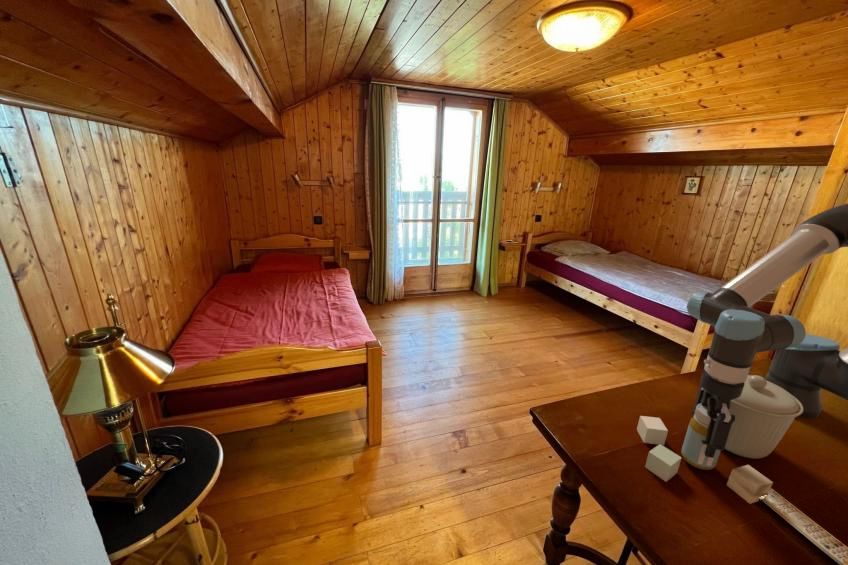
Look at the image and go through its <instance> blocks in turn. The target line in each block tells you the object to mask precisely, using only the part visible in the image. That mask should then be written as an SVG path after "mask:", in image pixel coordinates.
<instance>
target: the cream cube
mask: <svg viewBox="0 0 848 565" xmlns="http://www.w3.org/2000/svg"><path fill="white" fill-rule="evenodd" d="M636 430H637V431H636V432H637V433H638V434H639V436H640V438H641V440H642V442H643V444H650V445H657V446H658V445H659V444H661V445H662V446H665V444H666V443H665V442H666V439H667V435H668V432H669V430H668V429H667V427H666V426H665V424H664V422H663V420H662V419H661V417H654V416H646V415H645V416H644V415H640V416H639V420H638V424H637V427H636Z"/></svg>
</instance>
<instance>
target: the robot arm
mask: <svg viewBox="0 0 848 565" xmlns="http://www.w3.org/2000/svg"><path fill="white" fill-rule="evenodd" d="M841 248H848V203H847V202H846V203H844V204H841V205H837V206H835V207H834V206H833V207H831V208H829V209H826V210H824V211H821V212H820V213H819V212H818V213H817V214H816V215H813V216H811V217H809V218H807V219H806V220H804V221H802V222H801V223H799V225H797V226H796V227H795V228H794V229H793V230H792V233H791V236H789V237H788V238H786V239H785V240H784V241H782V242H781V243H780V244H778V245H777V246H776V247H774V248H773V249H771V250H770V251H769V252H767V253H766V254H764V255H763V256H762V257H761V258H759V259H758V260H757V261H755V262H754V263H753V264H750V265H749V266H748V267H747V268H746V269H744V270H743V271H742V272H740V273H739V274H737V275H736V276H734V277H733V278H731V280H729V281H728V282H727V283H724V284H723V285H722V286H721V287H719V288H718V289H717V290H715V291H713V293H711V292H709V291H704V290H703V291H702V290H701V291H699V292H695V293H694V294H693V295H691V296H690V298H689V299H688V301H687V303H686V304H687V305H686V309H687V313H688V314H689V315H690V316H691V317H693V318H694V319H697V320H698V321H700V322H702V323H704V324H706V325H707V324H708V325H711V326H712V327H714V331H713V336H712V339H711V344H710V347H709V350H708V354H707V358H706V359H704V360H703V363H704V370H702V373H701V376H700V380H699V388H698V392H697V395H696V398H695V401H694V405H693V407H692V411H691V415H692V416H694V414H695V410H696V406H697V405H698V404H700V403H701V404H702V406H706V407H708V408H707V415H708V416H710V417H711V420H710V423H709V425H708V429H707V436H706V441H704V440H702V444H703V446H702V449H701V452H700V456H699V459H698V462H697V463H698V464H703V461H704V458H705V456H706V457H709V458H708V461H707V464H706V466H711V465H712V462H713V459H714V456H715V453H716V450H721V451H723V452H724V450H725V449H724V448H725V445H726V442H727V438H728V435H729V432H730V429H731V425H732V423H733V422H734V421H735V416H734V415H731V414H730V413H729V411H728V410H729V408H730V401H731V400H733V399H736V398H739V397H740V396H741V393H742V391H743V388H744V384H745V383H744V382H745V381H746V379H747V376H748V375H749V374H750V370H751V367H752V363H753V360H754V358H755V355H756V353H762V352H768V351H775V353H774V355H773V359H772V361H771V364H770V367H769V370H768V372H767V374H766V375H765V376H764V377H763V378H764V379H765V380H766V381H769V382H771V383H773V384H776V385H778V386H779V387H781V388H783V389H784V390H786V391H787V392H789V393H790V394H791V395H793V396H794V397H795V398H796V399H798V400H799V402H800V403H801V404H802V406H803V413H802V414H801V415H799V416H797V417H796V418H800V419H816V418H819V417H820V414H821V412H822V410H823V408H822V407H823V406H822V401H821V398H822V397H821V390H825V391H827V392H829V393H832V394H833V395H836V396H837V397H840V398H842V399H844V400H846V401H848V347H847V348H843V349H842V350H840V349H841V346H840V343H838V342H837V341H836V340H833V339H830V338H828V337H822V336H821V335H820V336H819V335H813V334H807V333H806V332H807V331H806V328H805V326H804V324H803V323H802V321H800V319H798V318H796V317H794V316H792V315H789V314H768V313H767V312H763V311H761V310H759V309H755V308H752V306H753V305H755V304H756V303H757V302H759V301H760V300H761V299H763V298H764V297H766V296H767V295H768V294H770V293H771V292H773V291H775V289H777V288H778V287H779V286H781V285H782V284H783V283H785V282H787V281H788V280H789V279H791V278H792V277H793V276H795V275H797V273H799V272H801V270H803V269H805V268H806V267H808V266H809V265H810V264H812V263H813V262H814V261H815V260H817V259H819V258H820V257H821V256H822V255H829V254H833V253H835V252H836V251H838V250H839V249H841ZM712 412H713V413H712ZM716 413H718V414H716ZM714 419H716V420H715V421H714Z"/></svg>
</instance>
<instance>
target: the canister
mask: <svg viewBox="0 0 848 565" xmlns="http://www.w3.org/2000/svg"><path fill="white" fill-rule="evenodd" d="M744 383H745V384H744V388H743V391H742V393H741V396H740V397H739V398H736V399H733V400H731V401H730V408H729V410H728V411H729V413H730V414H731V415H734V416H735V421H734V422H733V423H732V425H731V429H730V432H729V435H728V438H727V442H726V445H725V448H724V450H726V451H727V452H731V453H732V454H734V455H736V456H740V457H744V458H748V459H754V460H755V459H762V458H766V457H768V456H769V455H770V454H772V452H773V451H774V450H775V448H776V447H777V445H779V443H780V441H781V440H782V439H783V437H784V436H785V434H786V433H787V431H788V429H789V428H790V426H791V425H792V423H793V421H794V420H795V419H796V418H798V417H797V416H799V415H801V414H802V413H803V406H802V404H801V403H800V402H799V400H798V399H796V398H795V397H794V396H793V395H791V394H790V393H789V392H787V391H786V390H784V389H783V388H781V387H779V386H778V385H776V384H773V383H771V382H769V381H766V380H765V379H764V377H763V376H760V375H754V374H753V375H751V374H750V375H749V374H748V376H747V379H746V381H745V382H744Z"/></svg>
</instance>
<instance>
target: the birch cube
mask: <svg viewBox="0 0 848 565" xmlns="http://www.w3.org/2000/svg"><path fill="white" fill-rule="evenodd" d="M773 484H774V482H773V481H772V480H770V479H769V478H768V477H766V476H765V475H763V473H760V472H759V471H758V470H756V469H755V468H754V467H752V466H751V465H750V464H746V465H742V466H738V467H734V468H732V470H731V471H730V475H729V477H728V480H727V482H726V486H727V487H728V488H729V489H730V490H732V491H733V492H735V493H736V495H738V496H739V497H741V498H742V499H743V500H745V501H746V503H748V504H753V503H757V502H760V501H759V497H761V496H764V495H767V496H768V495H769V492H770V491H771V487H772V486H773Z"/></svg>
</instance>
